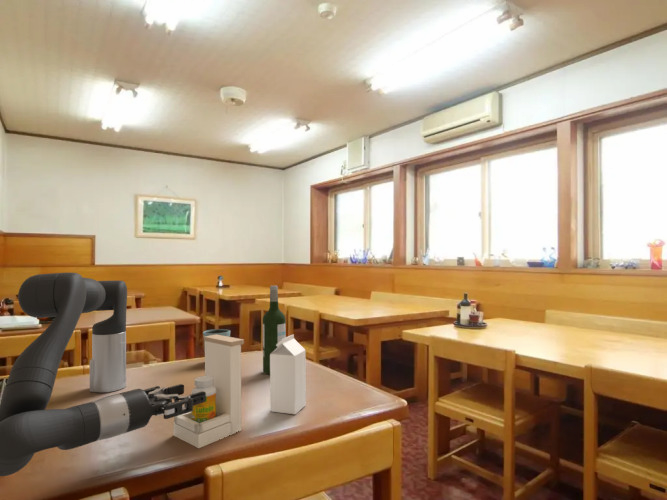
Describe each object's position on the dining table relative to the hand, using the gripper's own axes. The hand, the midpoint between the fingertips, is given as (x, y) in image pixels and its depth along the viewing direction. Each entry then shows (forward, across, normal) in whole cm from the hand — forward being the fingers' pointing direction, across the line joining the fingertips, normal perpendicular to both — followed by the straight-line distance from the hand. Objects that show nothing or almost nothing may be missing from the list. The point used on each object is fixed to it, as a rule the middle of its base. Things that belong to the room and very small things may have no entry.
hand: (193, 392), depth 92 cm
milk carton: (+26, -4, +10) cm, 28 cm away
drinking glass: (+43, +52, +10) cm, 69 cm away
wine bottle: (+48, +25, +10) cm, 55 cm away
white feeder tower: (+4, 0, +10) cm, 11 cm away
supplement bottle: (+3, 0, +8) cm, 8 cm away
